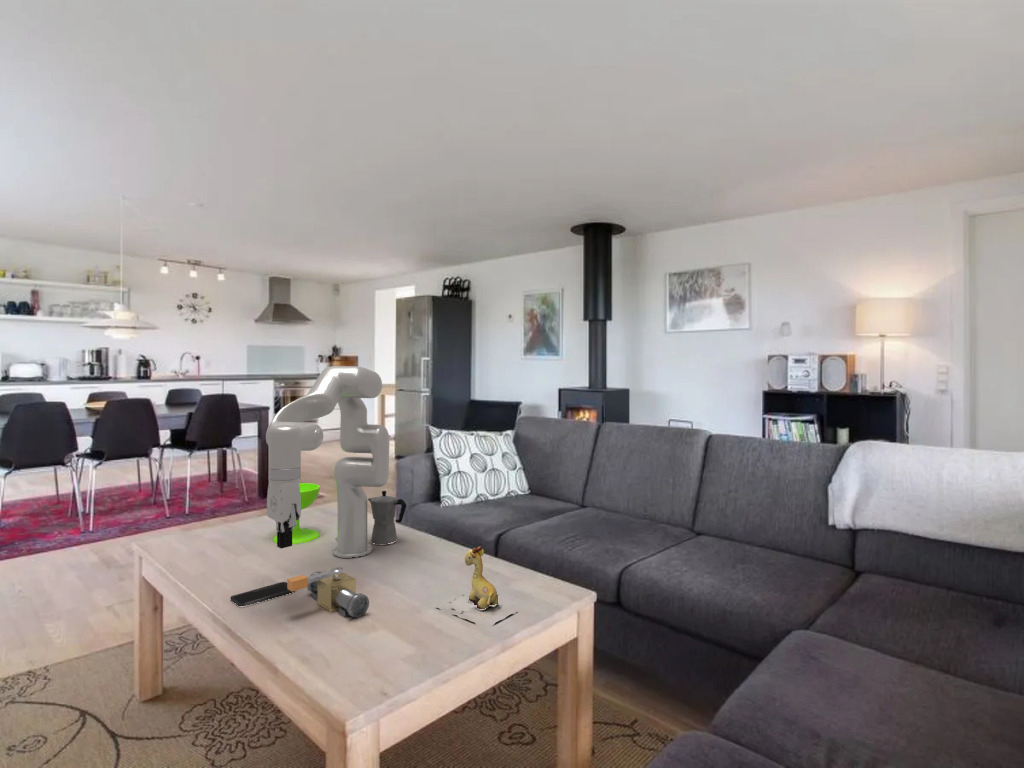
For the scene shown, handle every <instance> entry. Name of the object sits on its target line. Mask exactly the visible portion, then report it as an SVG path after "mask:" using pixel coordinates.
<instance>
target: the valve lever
mask: <svg viewBox="0 0 1024 768" xmlns="http://www.w3.org/2000/svg"><path fill="white" fill-rule="evenodd" d="M343 573H344V568H343V567H340V566H337V567H331V568H330V569H329V570H327V571H323V573H319V574H316V575H312V576H310V575H308V576H306V575H304V574H300V575H296V576H294V577H289V578H287V579H286V582H287V589H289V590H290V591H292V592H293V591H296V592H297V591H299V590H303V589H306V588H307V587H308V583H311V582H315V581H318V580H322V579H325V578H329V577H332V576H340V575H342V574H343Z"/></svg>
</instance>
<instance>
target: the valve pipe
mask: <svg viewBox="0 0 1024 768" xmlns="http://www.w3.org/2000/svg"><path fill="white" fill-rule="evenodd" d="M323 572H324V571H323ZM323 572H322V571H319V570H317V571H315V572H313V573H311V575H309V576H312V575H316V574H319V573H323ZM356 581H357V578H355V577H352V576H351V575H349V574H347V573H345V572H343V574H342V575H340V576H332V577H329V578H325V579H322V580H318V581H315V582H311V583H308V587H306V588H307V590H308V591H309V592H310V593H311V598H312V597H313V598H312V599H314V598H315V599H314V600H315V601H317V600H318V601H317V605H318V604H319V605H318V606H320V605H321V606H320V607H322V608H323V607H324V608H323V609H325V610H326V609H327V610H326V611H328V610H329V611H328V612H330V613H333V611H334V612H336V611H335V610H337V611H338V615H340V614H341V616H342V617H343V616H344V618H348V617H351V618H354V619H357V618H358V619H359V618H362V617H363V616H364V615H365V614H366V613H367V612H368V610H369V607H370V599H369V597H368V596H367V595H366V594H363V593H357V582H356ZM347 616H348V617H347Z"/></svg>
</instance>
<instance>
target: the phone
mask: <svg viewBox="0 0 1024 768" xmlns="http://www.w3.org/2000/svg"><path fill="white" fill-rule="evenodd" d="M293 592H294V593H296V592H295V591H293ZM289 593H291V594H293V593H292V591H290V590H289V589H287V581H281V582H277V583H273V584H270V585H267V586H263V587H259V588H255V589H251V590H248V591H245V592H241V593H238V594H234V595H231V596H230V599H231V600H230V601H231V602H232V601H233V602H234V603H236V604H237V605H238V606H246V605H250V604H254V603H257V602H261V603H263V602H262V601H264V602H266V601H265V600H267V601H269V600H268V599H271V600H273V599H272V598H274V599H276V598H275V597H278V598H280V597H279V596H281V597H283V596H282V595H284V596H287V595H286V594H288V595H290V594H289ZM233 602H232V603H233ZM257 604H258V603H257ZM237 605H236V606H237ZM254 605H255V604H254ZM238 606H237V607H238Z"/></svg>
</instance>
